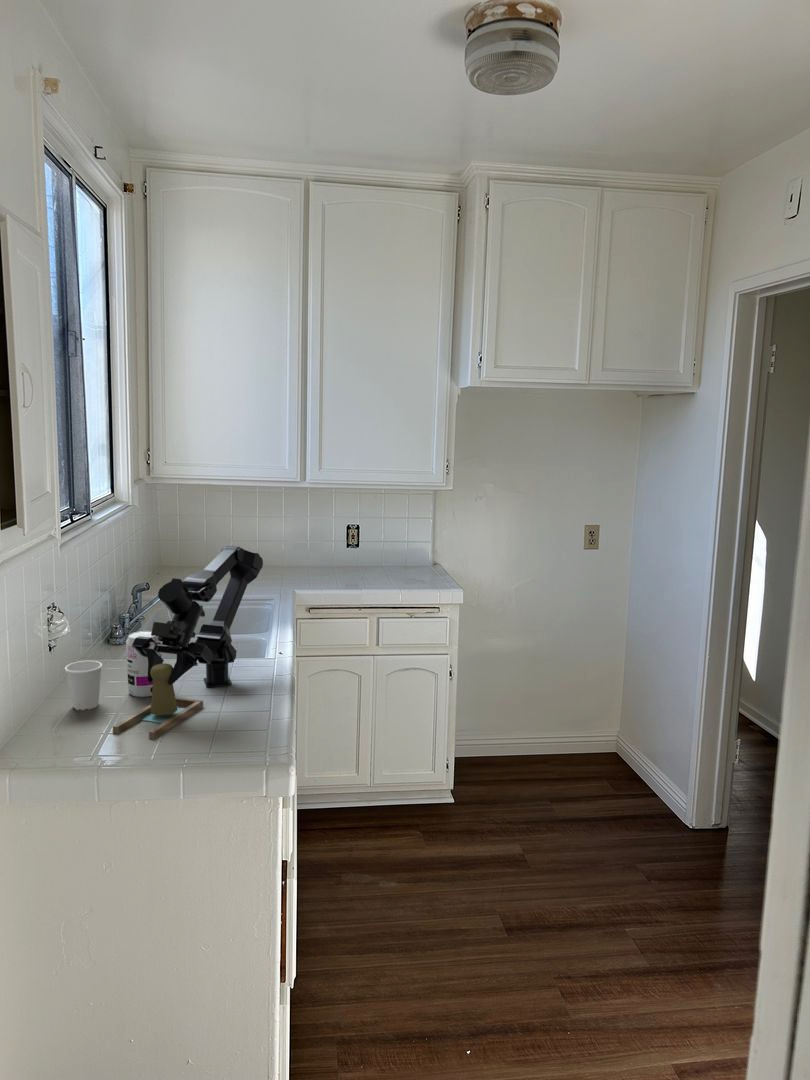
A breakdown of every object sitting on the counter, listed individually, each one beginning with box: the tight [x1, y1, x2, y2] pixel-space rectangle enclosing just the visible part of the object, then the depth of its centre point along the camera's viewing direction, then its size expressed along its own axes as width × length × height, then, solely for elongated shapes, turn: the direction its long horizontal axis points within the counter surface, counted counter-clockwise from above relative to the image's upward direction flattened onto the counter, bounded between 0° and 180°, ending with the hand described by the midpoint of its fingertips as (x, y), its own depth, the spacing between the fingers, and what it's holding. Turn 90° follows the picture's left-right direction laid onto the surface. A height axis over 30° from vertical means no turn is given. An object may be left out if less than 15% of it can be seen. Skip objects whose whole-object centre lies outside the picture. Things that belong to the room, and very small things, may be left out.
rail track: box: [112, 696, 204, 740], centre depth 185 cm, size 20×10×2 cm, turn 163°
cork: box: [150, 662, 178, 715], centre depth 185 cm, size 6×6×11 cm
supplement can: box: [125, 630, 162, 698], centre depth 201 cm, size 8×8×15 cm
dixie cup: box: [64, 660, 103, 711], centre depth 192 cm, size 8×8×10 cm
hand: (159, 683), depth 184 cm, fingers closed on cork, 5 cm apart
